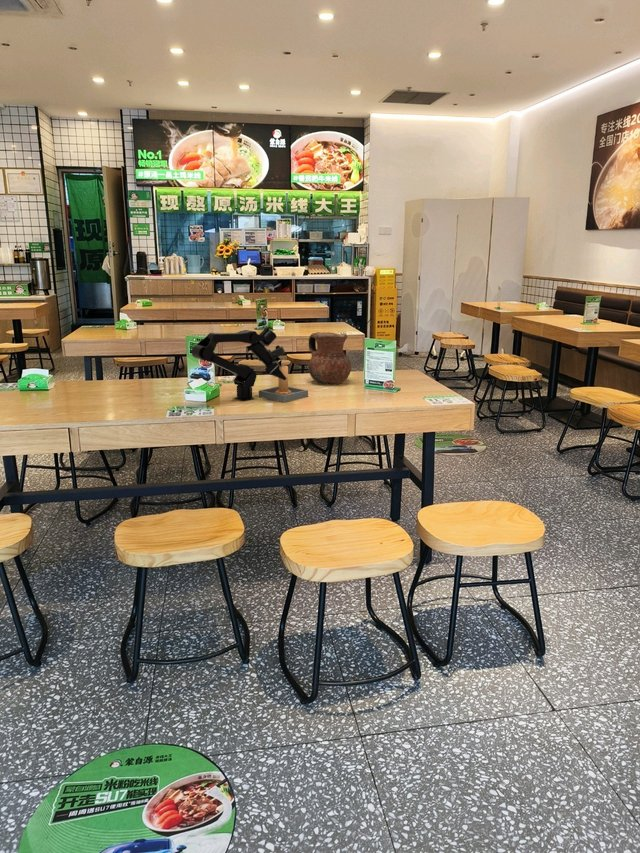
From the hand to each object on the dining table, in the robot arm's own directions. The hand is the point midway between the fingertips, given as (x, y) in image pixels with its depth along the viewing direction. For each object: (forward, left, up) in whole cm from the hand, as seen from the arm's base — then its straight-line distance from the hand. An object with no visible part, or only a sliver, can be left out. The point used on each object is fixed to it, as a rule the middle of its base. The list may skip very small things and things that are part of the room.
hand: (286, 377), depth 284 cm
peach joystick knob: (-1, +1, -8) cm, 8 cm away
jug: (+39, +7, -9) cm, 41 cm away
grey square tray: (-1, +1, -9) cm, 9 cm away
